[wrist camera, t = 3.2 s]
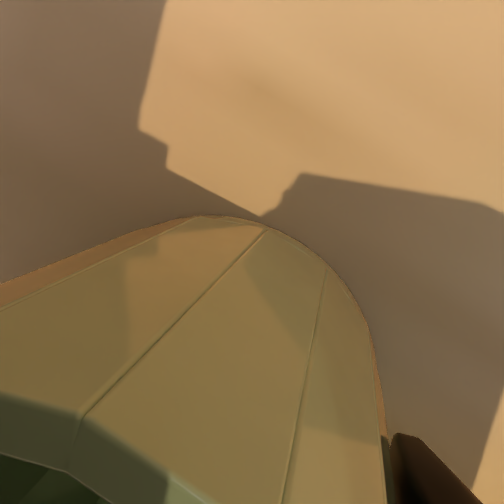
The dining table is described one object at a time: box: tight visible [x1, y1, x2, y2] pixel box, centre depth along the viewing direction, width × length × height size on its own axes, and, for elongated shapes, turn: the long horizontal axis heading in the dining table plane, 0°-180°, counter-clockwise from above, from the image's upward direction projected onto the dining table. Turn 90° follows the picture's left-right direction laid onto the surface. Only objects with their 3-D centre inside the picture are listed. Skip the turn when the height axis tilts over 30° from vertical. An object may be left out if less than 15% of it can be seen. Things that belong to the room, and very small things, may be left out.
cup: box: [0, 215, 396, 504], centre depth 7 cm, size 7×7×7 cm
